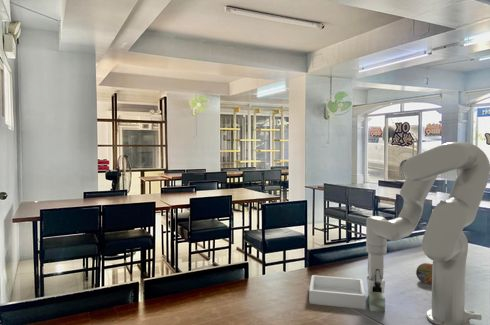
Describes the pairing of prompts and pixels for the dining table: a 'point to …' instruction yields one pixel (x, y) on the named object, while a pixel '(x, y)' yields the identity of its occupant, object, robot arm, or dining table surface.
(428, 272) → the tin
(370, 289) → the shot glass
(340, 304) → the tote
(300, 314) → the dining table surface
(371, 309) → the cube
